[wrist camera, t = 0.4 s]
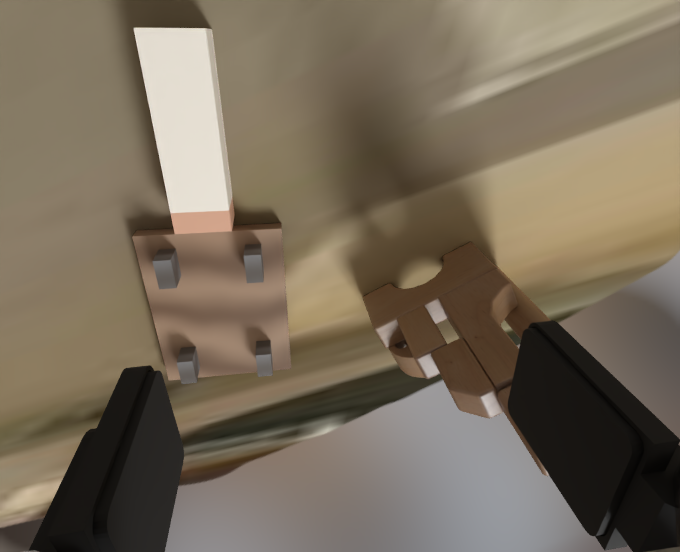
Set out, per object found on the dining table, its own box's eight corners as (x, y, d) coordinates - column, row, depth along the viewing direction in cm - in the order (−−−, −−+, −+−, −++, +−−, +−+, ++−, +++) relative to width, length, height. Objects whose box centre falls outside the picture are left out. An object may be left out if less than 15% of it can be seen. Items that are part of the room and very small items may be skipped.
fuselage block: (147, 28, 34) (133, 27, 30) (211, 29, 34) (205, 28, 31) (182, 218, 42) (174, 234, 38) (234, 215, 42) (231, 231, 39)
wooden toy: (384, 335, 52) (465, 544, 31) (361, 296, 49) (434, 499, 27) (500, 278, 51) (673, 456, 29) (485, 233, 47) (666, 396, 26)
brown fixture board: (136, 230, 41) (124, 247, 38) (281, 222, 43) (282, 238, 40) (171, 371, 50) (164, 396, 47) (290, 360, 52) (292, 383, 49)
